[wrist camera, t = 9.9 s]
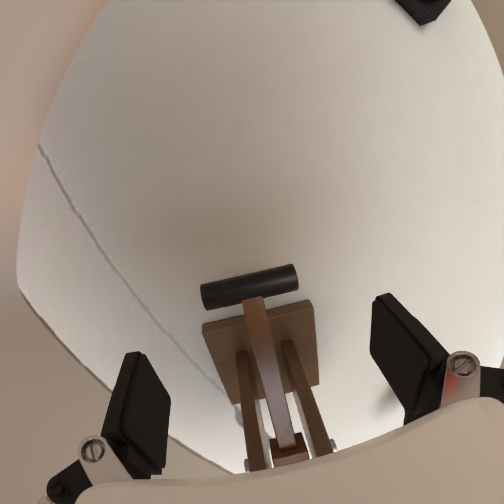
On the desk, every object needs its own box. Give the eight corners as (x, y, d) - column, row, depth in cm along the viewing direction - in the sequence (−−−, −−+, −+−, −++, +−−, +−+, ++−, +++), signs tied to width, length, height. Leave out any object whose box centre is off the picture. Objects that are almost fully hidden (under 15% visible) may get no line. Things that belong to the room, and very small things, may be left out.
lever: (203, 282, 16) (196, 286, 14) (288, 263, 16) (296, 263, 14) (257, 469, 16) (259, 490, 14) (325, 453, 16) (334, 472, 14)
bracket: (202, 323, 23) (200, 467, 11) (309, 299, 23) (375, 426, 11) (231, 396, 27) (243, 507, 15) (316, 376, 27) (357, 481, 15)
